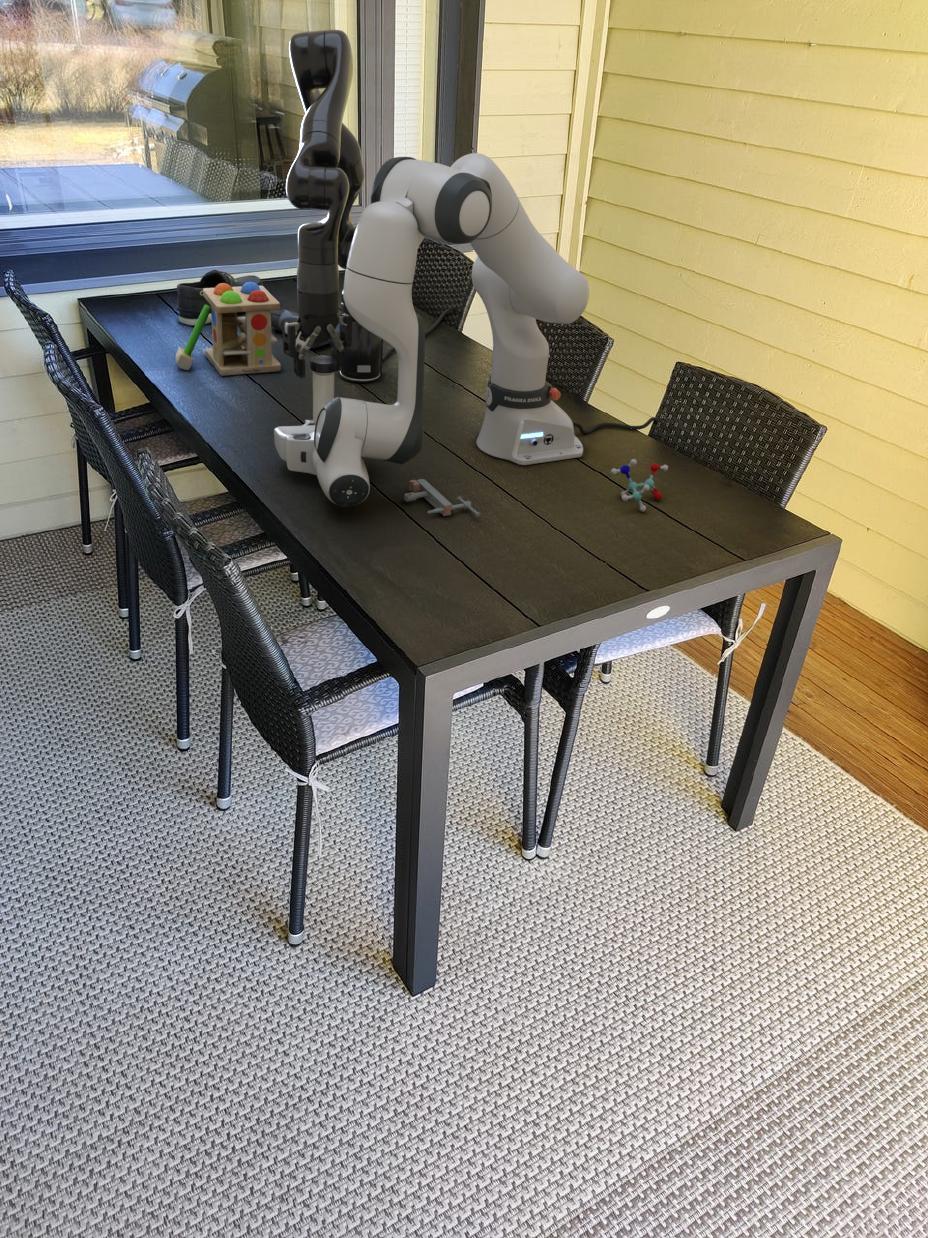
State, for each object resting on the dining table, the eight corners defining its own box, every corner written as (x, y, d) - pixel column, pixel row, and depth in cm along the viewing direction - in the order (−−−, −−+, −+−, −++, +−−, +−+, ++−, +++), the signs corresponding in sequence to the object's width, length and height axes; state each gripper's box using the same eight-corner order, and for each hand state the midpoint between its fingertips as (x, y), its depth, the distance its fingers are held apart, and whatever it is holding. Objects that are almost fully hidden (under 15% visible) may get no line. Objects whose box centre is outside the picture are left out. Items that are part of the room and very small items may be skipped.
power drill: (305, 316, 264) (364, 334, 256) (257, 332, 251) (318, 351, 243) (305, 296, 261) (365, 314, 253) (257, 311, 248) (318, 330, 240)
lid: (312, 363, 188) (312, 353, 186) (338, 365, 188) (338, 356, 187) (308, 372, 183) (308, 362, 182) (334, 374, 183) (334, 365, 182)
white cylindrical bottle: (337, 451, 197) (338, 361, 186) (328, 459, 193) (329, 368, 183) (317, 447, 197) (317, 358, 187) (309, 455, 194) (309, 364, 184)
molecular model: (670, 504, 181) (654, 452, 180) (621, 519, 184) (605, 468, 183) (677, 496, 191) (662, 447, 190) (631, 511, 195) (616, 462, 194)
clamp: (395, 482, 182) (442, 474, 187) (394, 493, 183) (441, 484, 188) (433, 519, 172) (482, 509, 176) (432, 530, 173) (481, 520, 178)
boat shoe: (283, 304, 273) (281, 265, 267) (196, 327, 249) (192, 285, 243) (249, 295, 278) (246, 257, 273) (160, 318, 255) (156, 277, 249)
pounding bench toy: (183, 379, 220) (176, 299, 210) (169, 357, 231) (162, 280, 221) (282, 371, 230) (280, 294, 220) (264, 350, 240) (262, 276, 230)
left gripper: (339, 275, 183) (338, 360, 192) (272, 284, 175) (274, 373, 184) (362, 286, 179) (360, 373, 188) (295, 296, 171) (296, 386, 180)
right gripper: (389, 435, 183) (375, 406, 193) (279, 439, 177) (270, 409, 188) (388, 466, 186) (374, 435, 197) (279, 470, 181) (271, 439, 192)
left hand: (318, 372), depth 186 cm, fingers open, 7 cm apart
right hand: (322, 422), depth 192 cm, fingers closed on white cylindrical bottle, 4 cm apart
